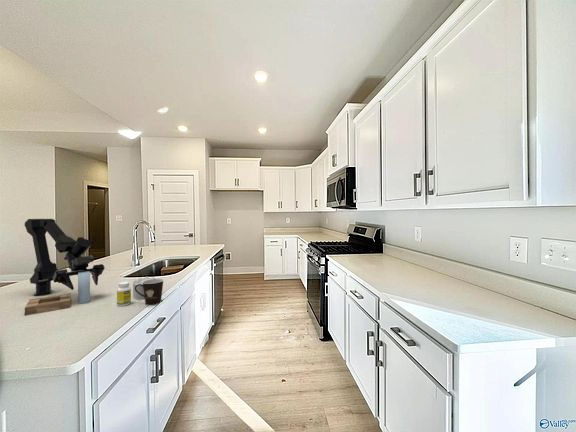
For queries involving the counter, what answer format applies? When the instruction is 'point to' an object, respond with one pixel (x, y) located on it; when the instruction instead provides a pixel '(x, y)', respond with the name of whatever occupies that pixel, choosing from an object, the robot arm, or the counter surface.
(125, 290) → the supplement bottle
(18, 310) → the counter surface
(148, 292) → the coffee mug
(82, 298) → the peg
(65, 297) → the holder
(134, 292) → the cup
